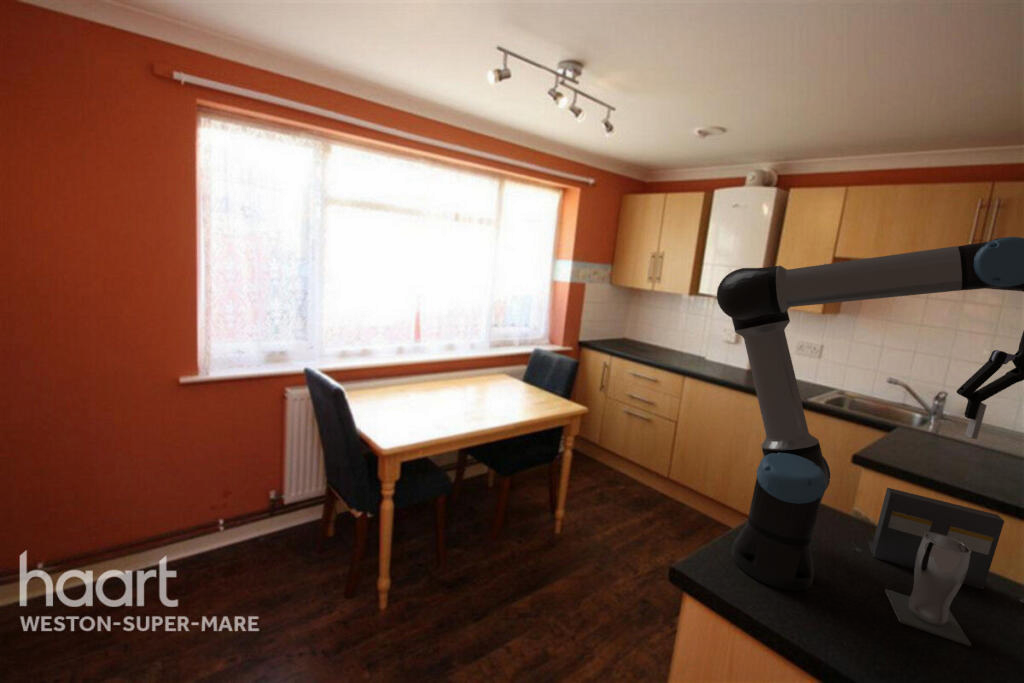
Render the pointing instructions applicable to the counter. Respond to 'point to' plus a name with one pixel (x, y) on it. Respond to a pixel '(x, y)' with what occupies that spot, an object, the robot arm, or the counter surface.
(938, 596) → the beer glass
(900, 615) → the rubber mat
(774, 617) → the counter surface
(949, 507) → the label panel
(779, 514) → the robot arm
